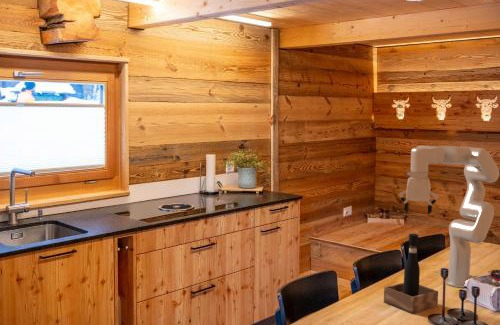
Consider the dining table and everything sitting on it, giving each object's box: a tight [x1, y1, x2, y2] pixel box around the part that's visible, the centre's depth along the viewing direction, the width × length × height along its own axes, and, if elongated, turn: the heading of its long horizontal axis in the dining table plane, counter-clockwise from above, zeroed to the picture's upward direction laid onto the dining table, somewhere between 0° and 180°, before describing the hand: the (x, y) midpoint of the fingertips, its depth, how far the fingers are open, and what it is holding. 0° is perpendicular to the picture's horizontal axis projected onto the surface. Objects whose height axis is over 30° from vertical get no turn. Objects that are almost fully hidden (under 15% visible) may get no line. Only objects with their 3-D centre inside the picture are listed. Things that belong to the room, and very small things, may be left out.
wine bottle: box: [403, 233, 421, 297], centre depth 249 cm, size 6×6×30 cm
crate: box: [383, 282, 439, 315], centre depth 250 cm, size 16×16×7 cm
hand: (417, 212), depth 260 cm, fingers open, 9 cm apart
